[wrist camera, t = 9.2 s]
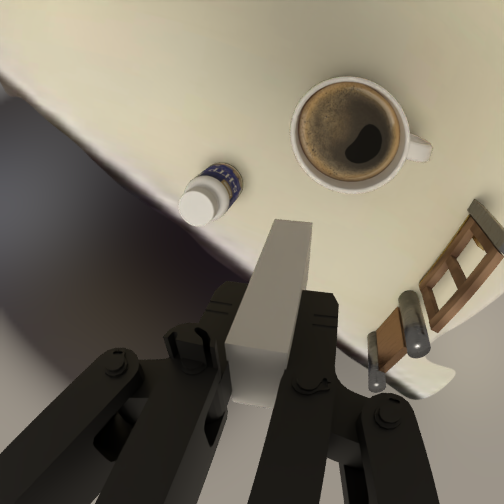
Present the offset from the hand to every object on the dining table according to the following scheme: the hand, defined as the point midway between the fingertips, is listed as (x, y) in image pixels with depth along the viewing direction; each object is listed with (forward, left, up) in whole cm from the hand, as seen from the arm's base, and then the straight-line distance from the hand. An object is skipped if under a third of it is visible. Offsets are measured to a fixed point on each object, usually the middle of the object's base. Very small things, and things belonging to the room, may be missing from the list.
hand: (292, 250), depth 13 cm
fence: (+11, +22, -25) cm, 35 cm away
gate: (+4, +22, -24) cm, 33 cm away
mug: (-3, +3, -25) cm, 26 cm away
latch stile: (-2, +22, -25) cm, 34 cm away
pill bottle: (+10, -8, -25) cm, 28 cm away
